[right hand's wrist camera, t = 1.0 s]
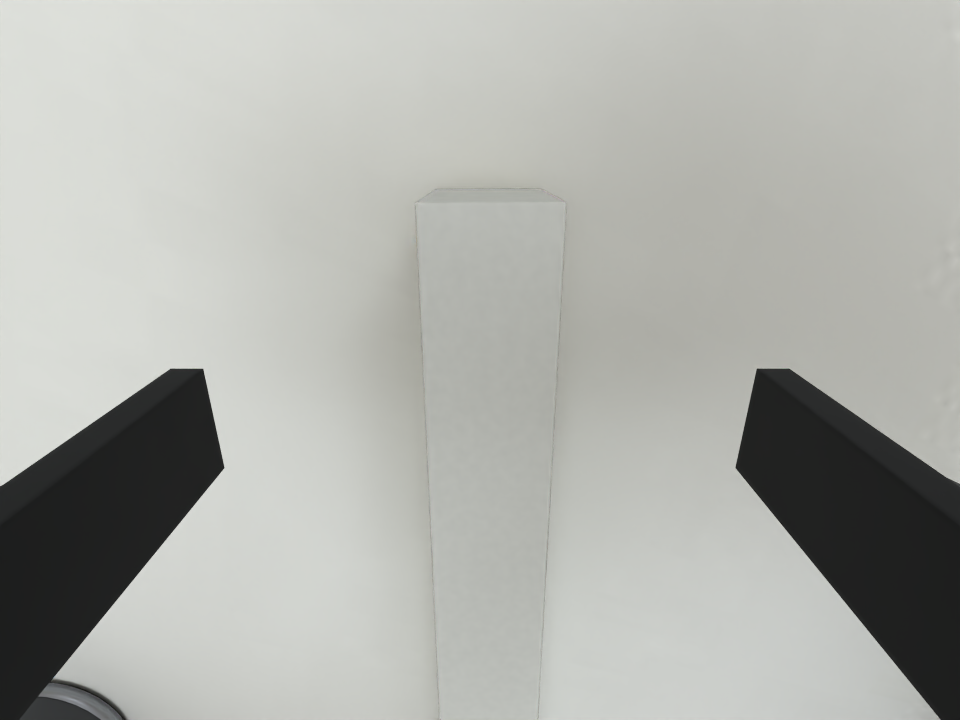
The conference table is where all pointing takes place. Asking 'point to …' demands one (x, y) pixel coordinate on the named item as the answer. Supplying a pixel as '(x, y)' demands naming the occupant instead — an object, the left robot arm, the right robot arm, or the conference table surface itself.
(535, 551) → the beam
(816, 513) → the right robot arm
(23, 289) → the conference table surface
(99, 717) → the left robot arm
